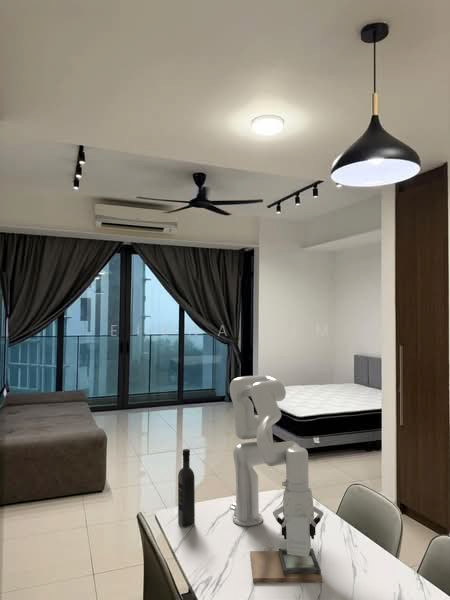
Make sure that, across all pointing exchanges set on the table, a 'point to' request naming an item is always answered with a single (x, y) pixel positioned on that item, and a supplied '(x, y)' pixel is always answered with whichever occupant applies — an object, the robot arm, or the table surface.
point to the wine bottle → (186, 492)
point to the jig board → (284, 567)
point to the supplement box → (298, 536)
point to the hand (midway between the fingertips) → (298, 537)
